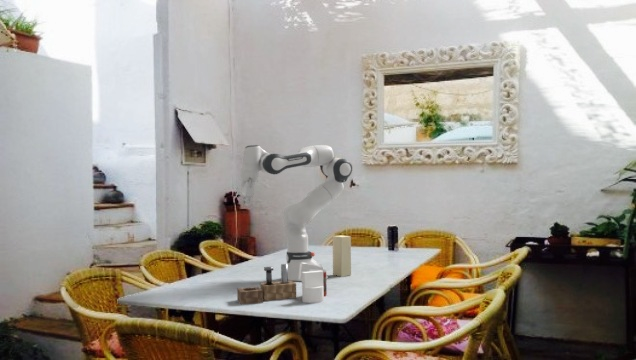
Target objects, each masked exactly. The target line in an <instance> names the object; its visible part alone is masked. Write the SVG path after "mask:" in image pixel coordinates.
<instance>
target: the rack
mask: <svg viewBox="0 0 636 360" xmlns="http://www.w3.org/2000/svg"><path fill="white" fill-rule="evenodd" d="M236 291H237V295H236V296H237V297H236V298H237V301H238V303H239V304H240V305H249V304H251V305H252V304H258V303H259V304H260V303H261V304H262V303H264V300H263V290H262V289H260V287H259V286H251V287H248V286H247V287H239V288H238V287H237V289H236Z"/></svg>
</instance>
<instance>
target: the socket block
mask: <svg viewBox="0 0 636 360" xmlns="http://www.w3.org/2000/svg"><path fill="white" fill-rule="evenodd" d="M259 288H260V289H262V290H263V301H274V300H286V299H287V300H288V299H297V283H296V282H295V281H290V280H288V284H281V281H272V285H266V282H260V287H259Z"/></svg>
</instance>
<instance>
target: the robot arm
mask: <svg viewBox="0 0 636 360" xmlns="http://www.w3.org/2000/svg"><path fill="white" fill-rule="evenodd" d="M296 167H302V168H315V167H319V168H320V171H321V173H322V175H324V176H326V179H325V180H324V181H323V182H322V183H321V184H319V185H318V186H316V187H315V188H314V189H312V190H310V191H309V192H308V193H307V195H306V196H305V197H304V198H303V199H302V200H301V201H299V202H298V203H289V204H288V205H286V206H285V207H284V208H283V209H282V213H281V215H282V219H283V221H284V226H285V227H284V228H285V232H286V233H285V234H286V243H287V244H286V248H287V249H286V256H285V258H286V264H288V281H293V282H302V272H308V271H309V270H311V269H324V268H323V266H322V264H320V263H319V262H318V261H316V260H315V259H314V258H313V257H315V256H316V253H315V252H313V251H312V252H311V251H309V250H310V249H309V234H308V233H307V228H306V225H308V224H310V223H311V222H312V220H314V218H315V217H316V215H317V214H319V213H320V211H322V210H323V209H324V208H326V207H327V206H328V205H329V204H331V203H332V202H333V201H335V200H336V199H337V198H338V197H339V196H341V194H342V193H343V192H344V190H345V185H344V183H345V182H347V180H348V179H349V177H350V176H351V175H352V173H353V172H352V171H353V165H352V163H351V162H350V161H349V160H348V159H346V158H341V157H336V156H335V155H334V150H333V148H332V147H331V146H330V145H326V144H317V145H316V144H315V145H313V144H312V145H308V146H304V147H301V148H299V150H298V152H297V153H293V154H288V155H281V154H278V153H269V152H267V151H266V150H264V149H263V148H262V147H261V146H260V145H257V144H253V145H252V144H251V145H247V146H245V147H244V149H243V152H242V158H241V168H240V173H239V180H240V181H241V185H240V186H241V187H240V191H241V192H240V193H241V195H243V196H242V204H243V205H245V206H246V207H250V202H251V200H252V198H253V197H254V194H255V193H254V192H255V184H256V183H257V182H258V181H259V171H260V172H263V173H266V174H270V175H279V174H281V173H282V172H283V171H285V170H287V169H291V168H296ZM327 279H329V276H328V275H327V274H326V280H327Z"/></svg>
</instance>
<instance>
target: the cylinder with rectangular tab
mask: <svg viewBox="0 0 636 360" xmlns="http://www.w3.org/2000/svg"><path fill="white" fill-rule="evenodd" d="M301 283H302V284H301V287H302V288H301V289H302V290H301V291H302V294H301V297H302V302H304V303H308V304H309V303H311V304H312V303H313V304H314V303H315V304H316V303H321V302H324V301H325V296H324V283H323V271H321V270H320V271H308V272H302V281H301Z"/></svg>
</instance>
